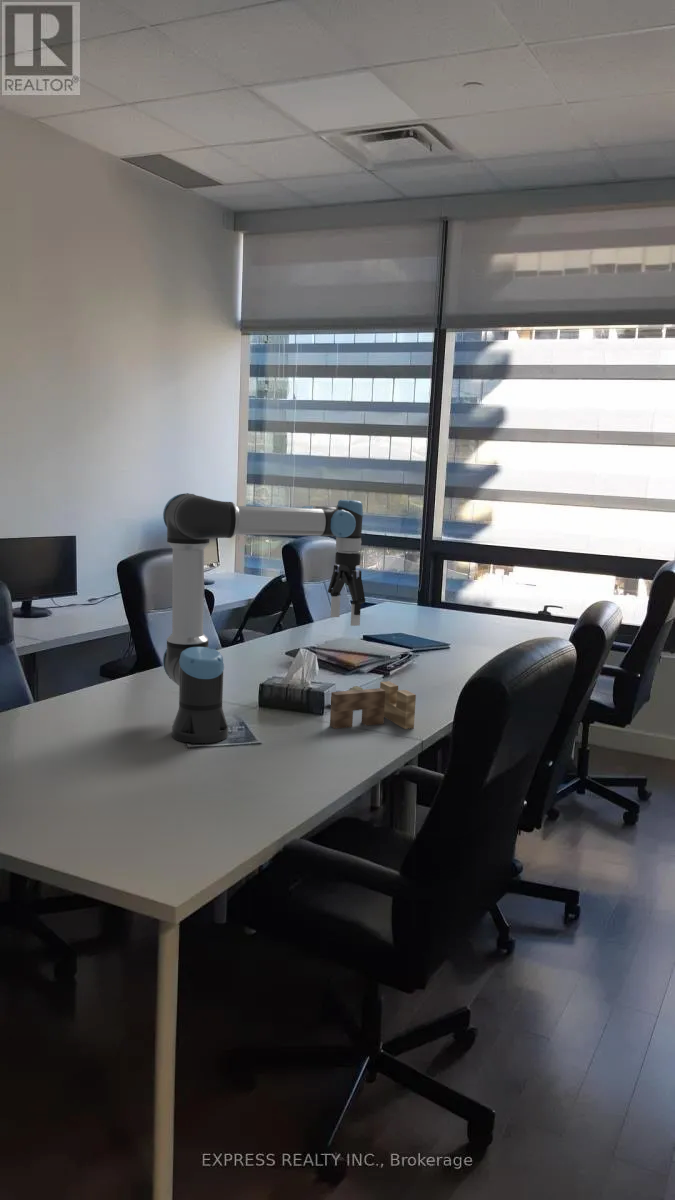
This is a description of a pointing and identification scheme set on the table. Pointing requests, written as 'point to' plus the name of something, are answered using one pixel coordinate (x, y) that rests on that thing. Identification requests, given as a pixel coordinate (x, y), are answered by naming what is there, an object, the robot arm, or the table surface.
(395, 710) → the oak board
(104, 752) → the table surface
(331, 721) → the walnut plate
